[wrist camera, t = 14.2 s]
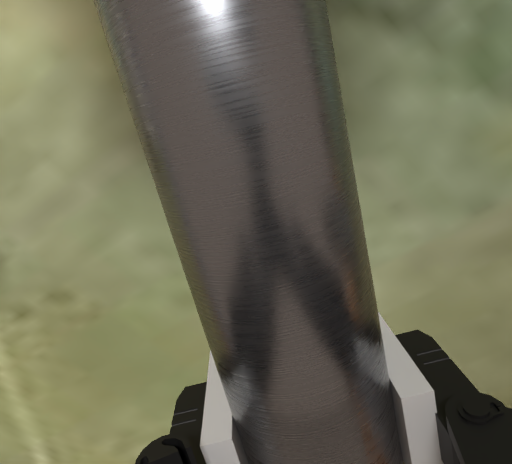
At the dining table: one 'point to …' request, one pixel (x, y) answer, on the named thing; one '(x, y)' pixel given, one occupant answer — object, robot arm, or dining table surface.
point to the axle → (263, 216)
